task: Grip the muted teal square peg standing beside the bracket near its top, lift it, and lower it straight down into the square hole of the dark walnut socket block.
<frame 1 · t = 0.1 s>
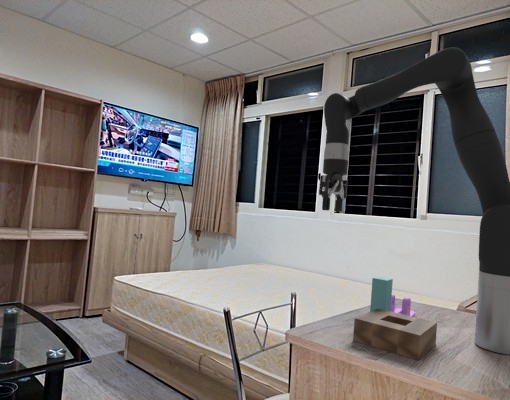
hand: (332, 211, 115), 29 cm above the table, tool pointing down, fingers open, 8 cm apart
peg: (379, 323, 99), on the table
socket block: (394, 342, 84), on the table
bracket: (401, 318, 107), on the table
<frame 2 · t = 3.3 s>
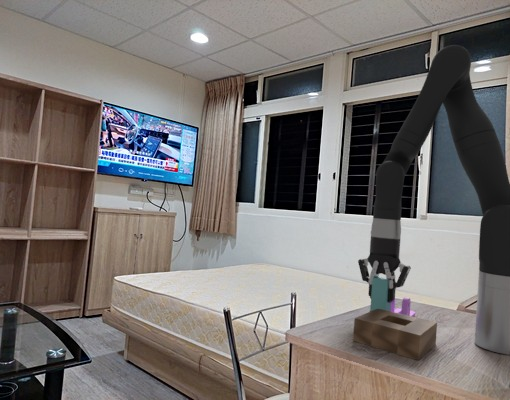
hand: (381, 299, 99), 6 cm above the table, tool pointing down, fingers closed on peg, 4 cm apart
peg: (379, 323, 99), on the table, touching gripper
everything else where it was.
when the fingers open (7 cm above the table, at t = 9.5 s): peg stays where it is, resting in socket block.
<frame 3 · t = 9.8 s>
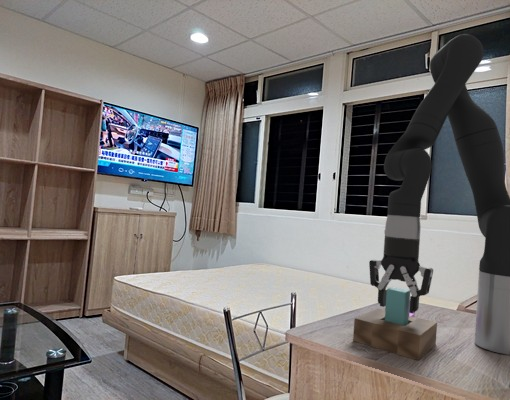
hand: (397, 308, 84), 8 cm above the table, tool pointing down, fingers open, 6 cm apart
peg: (395, 342, 84), resting in socket block
everything else where it was.
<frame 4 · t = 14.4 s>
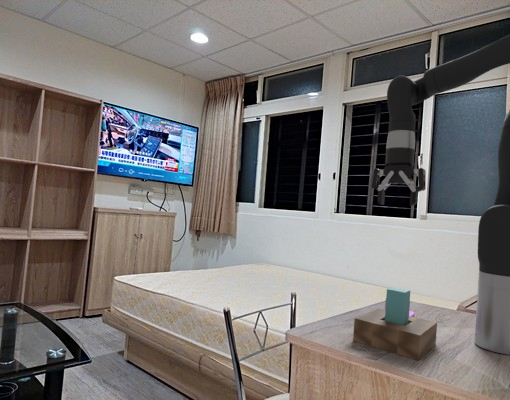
hand: (396, 205, 105), 32 cm above the table, tool pointing down, fingers open, 8 cm apart
nothing on the table moved.
at the end: peg 0.1 cm off-centre on the socket block, point 0.0 cm above the socket block's base; peg tilted 0°; the gripper is holding nothing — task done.
